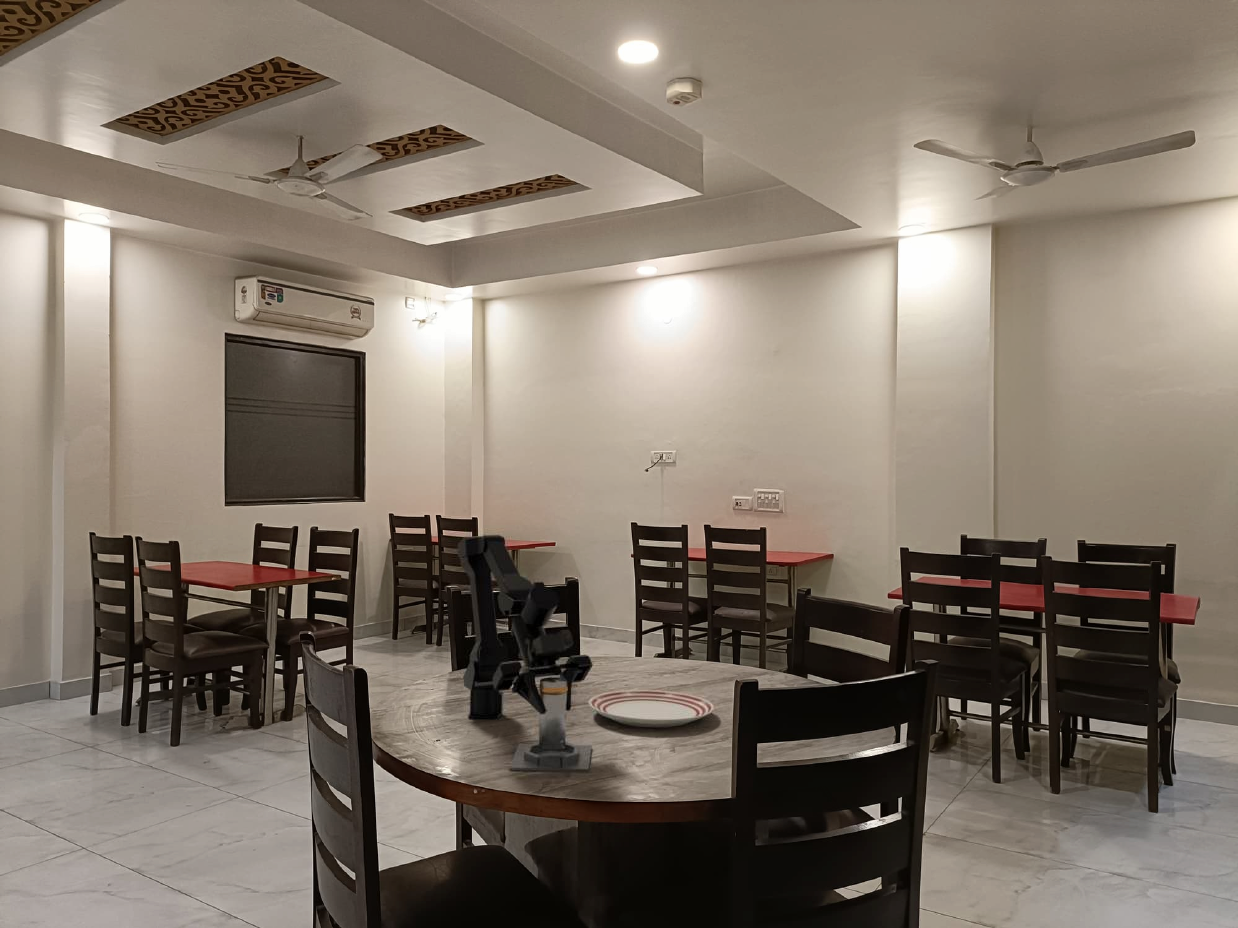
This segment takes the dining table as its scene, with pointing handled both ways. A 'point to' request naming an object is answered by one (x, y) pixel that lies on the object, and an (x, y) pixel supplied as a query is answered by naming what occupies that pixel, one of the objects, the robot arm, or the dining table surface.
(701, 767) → the dining table surface
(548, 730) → the grey cylindrical piece
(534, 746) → the flange
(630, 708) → the dinner plate
